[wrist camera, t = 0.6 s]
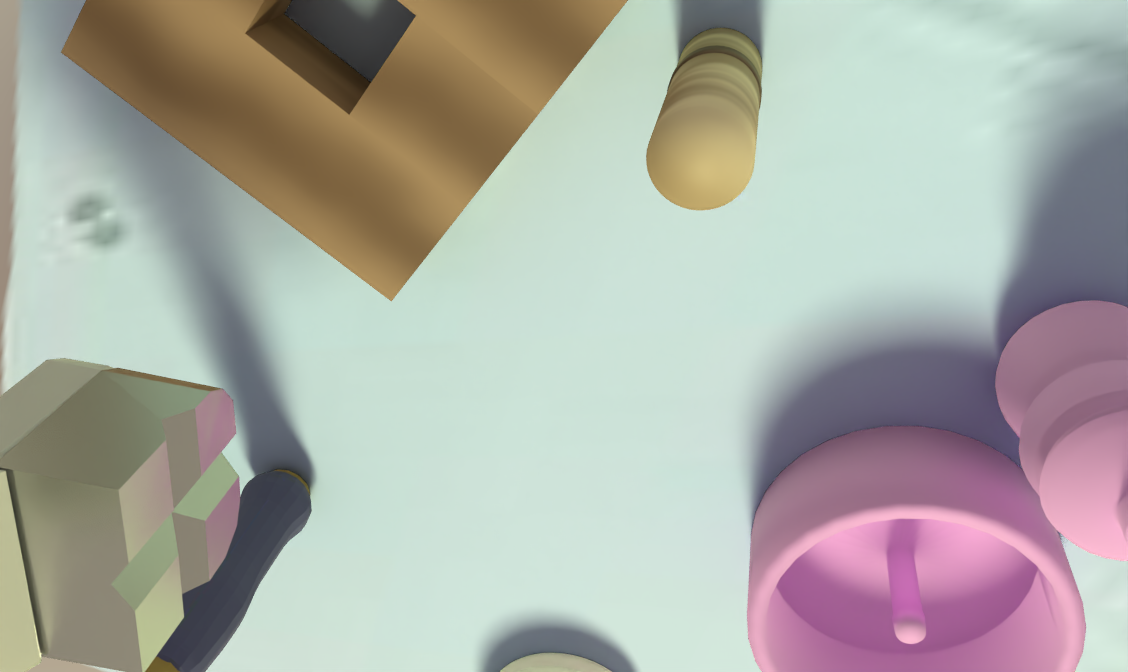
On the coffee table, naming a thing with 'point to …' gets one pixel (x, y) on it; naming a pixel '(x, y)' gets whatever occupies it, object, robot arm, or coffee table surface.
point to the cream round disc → (553, 664)
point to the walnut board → (343, 107)
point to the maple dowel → (708, 122)
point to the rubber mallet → (237, 571)
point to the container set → (954, 523)
